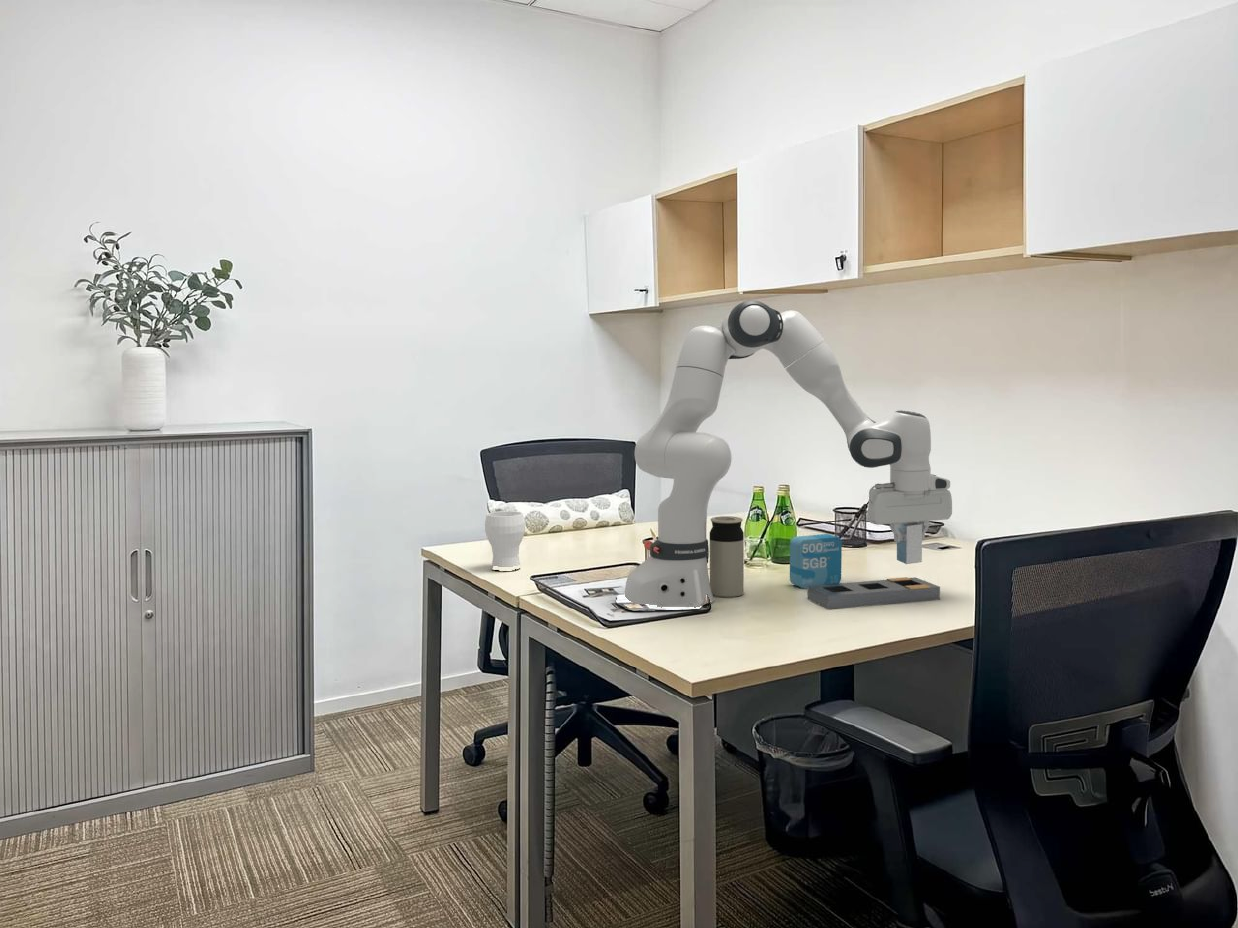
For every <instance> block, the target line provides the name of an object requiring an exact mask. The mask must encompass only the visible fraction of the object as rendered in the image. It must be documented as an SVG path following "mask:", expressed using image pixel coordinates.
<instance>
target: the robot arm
mask: <svg viewBox="0 0 1238 928" xmlns="http://www.w3.org/2000/svg"><path fill="white" fill-rule="evenodd" d="M762 349H763V350H767V351H769V352H770V353H771V354H773V355H774V356H775V357H776V358H778V360H779V362H780V364H781V365H782V366H783V368H784V369H785V370H786V372H787V373H788V375H789V376H790V377H791V378H792V380H794V382H795V383H796V384H798V386H799V387H800V388H802V389H803V390H804V391H805V392H807V393H808V394H810V395H812V396H814V397H815V398H817V399H818V400H820V402H822V404H824V405H825V407H826V408H827V409H828V411H829V412H830V413H831V415H832V416H833V417H834V419H835V420H836V422H837V423H838V424H839V426H840V427H841V429H842V430H843V432H844V435H845V437H846V442H847V447H848V451H849V452H850V456H851V458H852V460H854V461H855V463H856V464H858V465H859V466H861V467H864V468H869V469H874V468H879V467H883V466H888V465H889V471H890V472H889V481H890V482H886V483H876V484H874V485H873V486H871V488H870V489H869V491H868V499H869V500H868V506H867V507H868V508H867V521H869V522H870V523H871V524H873V525H876V526H879V525H880V526H881V525H889V528H890V530H891V532H892V533H893V542H895V543H897V542H903V541H904V539H903V538H904V535H903V534H900V532H899V530H898V528H900V523H908V522H918V523H920V524H922V541H925V540H926V532H927V530H928V529H929V527H930V521H943V520H944V521H945V520H946V521H947V520H949V519H950V518H951V516H952V514H953V497H952V494H951V491H950V490H949V489H950V488H951V481H950V479H947V478H944V477H941V476H937V474H936V475H935V474H932V473H931V470H932V469H931V464H930V454H931V450H932V449H931V448H932V437H931V436H932V435H931V426H930V422H929V419H928V418H927V417H926V416H925V415H923V414H922V413H918V412H916V411H915V412H914V411H909V410H895V411H894V412H893V413H892V414H890V415H889V416H886V417H885V418H883V419H881V420H879V421H877V422H876V421H875V420H872V419H871V418H870V417H868V415H867V414H866V413H865V412H864V411H863V410H862V408H861V406H860V405H859V404H858V403H857V401H856V400H855V398H854V397H853V395H852V394H851V392H850V391H849V389H848V387H847V386H846V384H845V381H844V379H843V376H842V371H841V368H840V365H839V363H838V360H837V358H836V356H835V354H834V352H833V350H832V349H831V347H830V345H828V343H827V341H826V340H825V338H824V337H823V336H822V334H821V333H820V332H819V331H818V329H816V328H815V326H814V325H813V324H812V323H811V322H810V321H809V320H808V319H807V318H806V317H805V316H804V315H803V314H802V313H801V312H799V311H797V310H791V309H790V310H786V311H783V312H780V311H778V310H776V309H773V308H771V307H770V306H769V305H767V304H765V303H764V302H762V301H759V300H756V299H755V300H754V299H753V300H745V301H742V302H740V303H738V304H736V305H735V306H734V307H733V308H732V310H731V311H729V312H728V313H727V314H726V316H725V317H724V318H723V320H722V321H721V322H720V324H719V325H718V326H710V325H699V326H696V327H695V326H694V327H693V328H692V329H691V330H690V331H689V332H688V333H687V335H686V336H685V340H684V342H683V344H682V347H681V350H680V353H679V356H678V360H677V363H676V367H675V371H674V376H673V381H672V383H671V387H670V392H669V396H668V400H667V402H666V404H665V407H664V408H663V410H662V412H661V414H660V415H659V417H658V418H657V420H656V421H655V423H654V425H653V426H651V428H650V429H649V430H648V431H646V432H645V433H644V434H642V435H641V436H640V437H639V438H638V440H637V442H636V444H635V447H634V460H635V463H636V466H637V467H638V469H640V470H641V472H644V473H646V474H648V475H651V476H654V477H657V478H663V479H672V480H673V485H672V489H671V492H670V494H669V496H668V497H667V498H665V499H663V500H662V501H661V503H660V504H659V505H658V509H657V539H656V540H655V541H654V542H652V541H650V540H645V541H644V543H643V548H645V550H647V551H649V555H650V556H649V557H648V558H647V559H645V560H644V561H643V562H642V563H641V564H639V565H638V566H637V567H636V568H634V569H633V570H632V571H630V572H629V573H628V574H627V578H626V581H625V587H624V588H625V589H624V593H625V597H626V598H627V599H628V600H629V601H631V602H633V603H637V604H649V605H657V607H661V608H662V607H694V608H696V607H700V606H701V602H702V600H703V599H704V598H705V597H706V595H707V594H708V597H709V599H710V601H711V603H710V604H712V603H713V602H714V601H715V598H714V595H712V592H711V587H710V575H709V570H708V564H709V559H710V545H709V540H708V539H707V519H708V507H709V501H710V498H711V496H712V492H713V490H714V489H715V487H716V485H717V484H718V483H719V481H720V480H721V479H723V478H724V477H725V476H726V475H727V473H728V472H729V470H730V468H731V466H732V464H731V463H732V459H733V457H732V450H731V448H730V446H729V444H728V443H727V442H728V441H726V440H725V439H724V438H721V437H719V436H716V435H712V434H710V433H706V432H697V431H698V429H699V427H700V426H701V425H702V424H703V422H704V421H706V420H707V419H708V418H709V417H711V416H713V414H714V413H715V412H716V410H717V409H718V408H717V407H718V404H719V400H720V395H721V389H722V386H723V381H724V377H725V371H726V365H727V363H728V360H741V359H746V358H749V357H751V356H753V355H754V354H755V353H757V352H758V351H760V350H762ZM869 522H868V523H869Z"/></svg>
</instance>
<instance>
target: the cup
mask: <svg viewBox="0 0 1238 928" xmlns="http://www.w3.org/2000/svg"><path fill="white" fill-rule="evenodd" d="M525 532H526V521H525V517H524V514H523V512H521V511H515V510H501V511H492V512H489V513H486V517H485V522H484V533H485V534H486V537H487V541H488V542H489V544H490V546H491V550H492V563H491V566H492V565H493V566H498V567H513V566H518V565H520V566H521V562H520V557H519V553H520V552H519V551H520V545H521V543H522V541H523V539H524V535H525Z"/></svg>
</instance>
